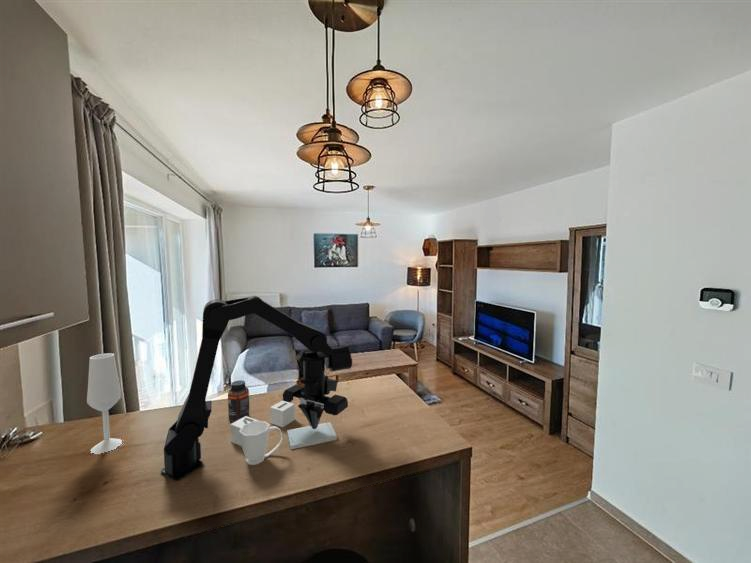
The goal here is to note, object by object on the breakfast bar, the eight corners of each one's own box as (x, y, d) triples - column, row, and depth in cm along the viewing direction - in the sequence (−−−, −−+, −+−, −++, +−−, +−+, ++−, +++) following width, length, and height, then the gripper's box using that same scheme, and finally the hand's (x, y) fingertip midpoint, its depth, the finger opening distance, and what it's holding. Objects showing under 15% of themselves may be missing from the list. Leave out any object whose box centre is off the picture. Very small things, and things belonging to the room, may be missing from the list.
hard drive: (290, 445, 81) (337, 435, 85) (286, 429, 88) (330, 420, 93) (290, 452, 81) (337, 441, 85) (286, 435, 88) (330, 426, 93)
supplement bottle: (253, 414, 99) (252, 379, 98) (243, 424, 93) (242, 386, 92) (235, 413, 100) (234, 378, 99) (224, 422, 94) (223, 386, 93)
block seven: (243, 447, 82) (243, 428, 81) (230, 442, 84) (230, 423, 84) (259, 437, 86) (258, 419, 86) (246, 433, 88) (245, 415, 88)
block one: (283, 427, 91) (282, 410, 91) (270, 423, 94) (270, 406, 93) (294, 419, 96) (294, 403, 95) (282, 416, 98) (282, 400, 98)
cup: (238, 455, 78) (238, 424, 78) (280, 444, 83) (279, 415, 82) (241, 472, 72) (240, 438, 72) (285, 459, 77) (285, 427, 76)
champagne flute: (83, 451, 80) (77, 358, 78) (112, 436, 86) (107, 351, 84) (101, 456, 78) (95, 361, 76) (130, 441, 84) (125, 353, 82)
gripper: (358, 370, 89) (358, 423, 90) (307, 360, 98) (307, 408, 99) (335, 384, 79) (335, 443, 81) (280, 371, 88) (281, 425, 89)
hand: (314, 428), depth 88 cm, fingers closed
